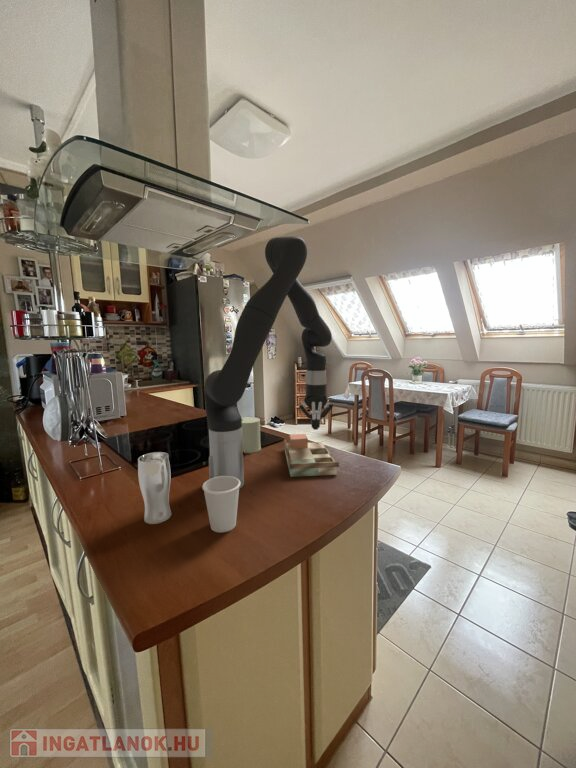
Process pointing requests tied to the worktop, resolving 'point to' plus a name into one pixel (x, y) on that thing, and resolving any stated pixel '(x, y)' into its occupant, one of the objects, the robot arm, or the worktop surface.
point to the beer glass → (155, 486)
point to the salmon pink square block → (298, 441)
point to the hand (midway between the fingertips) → (315, 429)
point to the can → (251, 434)
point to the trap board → (310, 460)
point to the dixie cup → (222, 502)
